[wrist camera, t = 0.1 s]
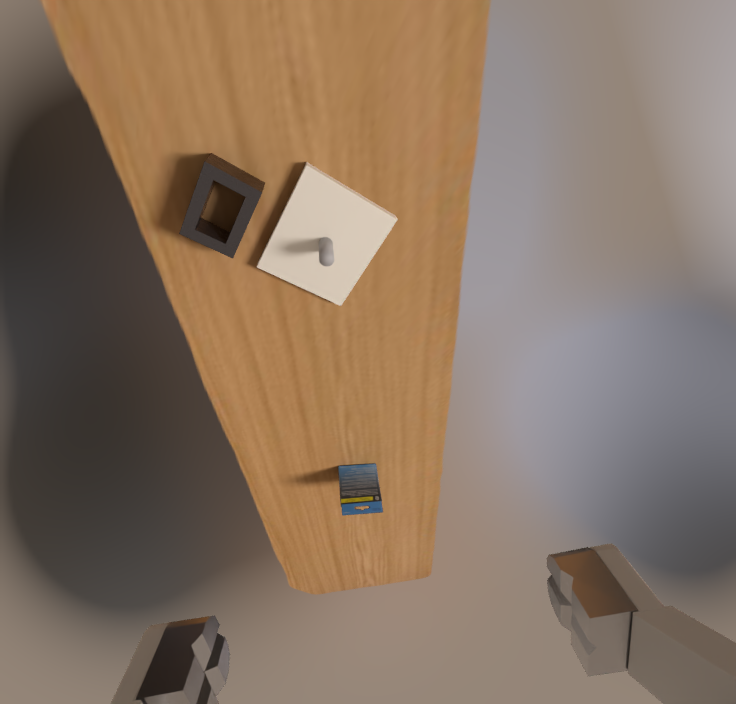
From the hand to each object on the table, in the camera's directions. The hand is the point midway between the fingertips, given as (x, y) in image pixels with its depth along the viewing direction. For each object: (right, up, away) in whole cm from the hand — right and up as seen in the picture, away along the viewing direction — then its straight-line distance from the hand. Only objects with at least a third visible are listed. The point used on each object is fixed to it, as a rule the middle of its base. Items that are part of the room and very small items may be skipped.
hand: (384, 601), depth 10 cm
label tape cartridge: (-3, -21, +84) cm, 87 cm away
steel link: (-19, +26, +44) cm, 54 cm away
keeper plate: (-7, +22, +48) cm, 53 cm away
